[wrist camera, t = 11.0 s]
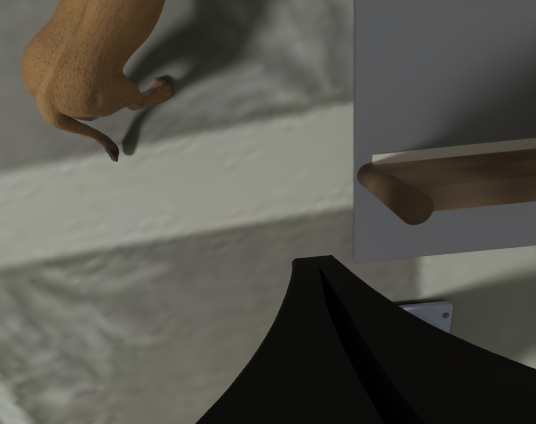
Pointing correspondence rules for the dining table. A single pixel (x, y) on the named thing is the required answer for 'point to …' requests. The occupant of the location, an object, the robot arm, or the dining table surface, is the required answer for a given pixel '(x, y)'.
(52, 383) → the dining table surface
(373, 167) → the fence
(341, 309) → the robot arm
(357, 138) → the card
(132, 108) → the lion figurine
